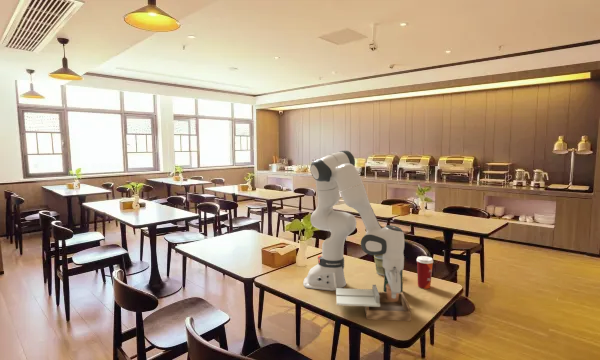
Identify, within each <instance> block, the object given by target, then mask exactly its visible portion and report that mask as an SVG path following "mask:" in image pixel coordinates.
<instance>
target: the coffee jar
mask: <svg viewBox="0 0 600 360" xmlns="http://www.w3.org/2000/svg"><path fill="white" fill-rule="evenodd" d="M403 271H404V269H403V270H401V272H400V277H401V292H400V293H403V290H404V288H403V287H404V286H403V283H404V282H403ZM383 277H384V280H383V292H386V289H387V288H386V284H388V280H387V277H386V274H385V276H383Z"/></svg>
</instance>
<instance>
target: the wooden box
mask: <svg viewBox="0 0 600 360" xmlns="http://www.w3.org/2000/svg"><path fill="white" fill-rule="evenodd" d="M378 293H379V296H380V307H373V306H363V309H364V313H365V317H366V320H384V321H405V322H407V321H408V322H409V321H412V311H411V306H410V304H409V302H408V301H407V298H406V296H405V294H404V292H401V293H399V300H398V301H397V302H391V301H388V300H387V299H386V292H384V291H378Z"/></svg>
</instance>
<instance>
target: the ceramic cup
mask: <svg viewBox="0 0 600 360" xmlns="http://www.w3.org/2000/svg"><path fill="white" fill-rule="evenodd" d="M373 257H374V258H373V259H374V264H375V270H376V274H377V275H379V276H383V277H385V268H383V255H373Z"/></svg>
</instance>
